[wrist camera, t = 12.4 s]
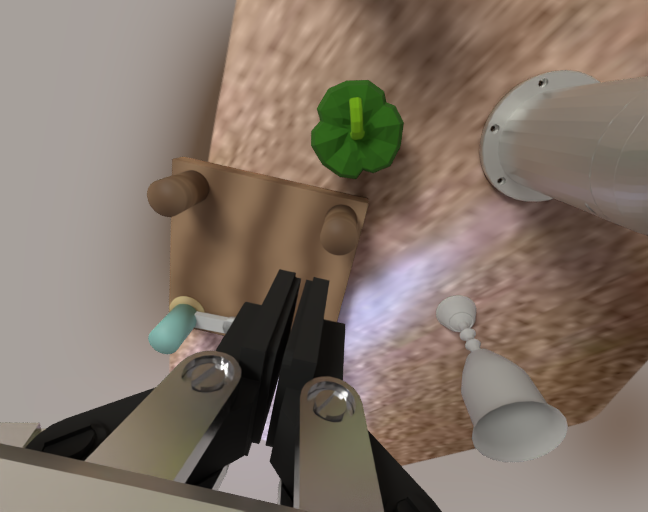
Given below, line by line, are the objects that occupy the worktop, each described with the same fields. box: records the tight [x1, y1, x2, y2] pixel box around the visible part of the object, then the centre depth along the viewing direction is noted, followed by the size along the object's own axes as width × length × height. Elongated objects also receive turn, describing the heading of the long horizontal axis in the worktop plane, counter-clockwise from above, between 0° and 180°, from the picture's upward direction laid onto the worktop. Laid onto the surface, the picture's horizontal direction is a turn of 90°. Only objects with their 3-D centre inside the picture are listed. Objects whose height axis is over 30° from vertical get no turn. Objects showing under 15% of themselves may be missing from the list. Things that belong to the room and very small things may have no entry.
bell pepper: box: [311, 80, 404, 179], centre depth 31 cm, size 8×8×10 cm
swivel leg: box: [148, 304, 235, 354], centre depth 41 cm, size 4×10×6 cm, turn 80°
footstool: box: [147, 157, 369, 336], centre depth 39 cm, size 22×22×8 cm
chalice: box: [436, 295, 568, 462], centre depth 35 cm, size 7×7×18 cm
